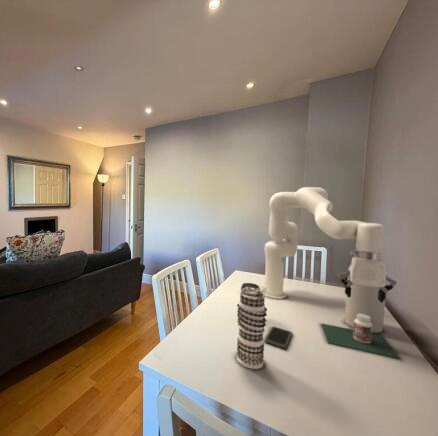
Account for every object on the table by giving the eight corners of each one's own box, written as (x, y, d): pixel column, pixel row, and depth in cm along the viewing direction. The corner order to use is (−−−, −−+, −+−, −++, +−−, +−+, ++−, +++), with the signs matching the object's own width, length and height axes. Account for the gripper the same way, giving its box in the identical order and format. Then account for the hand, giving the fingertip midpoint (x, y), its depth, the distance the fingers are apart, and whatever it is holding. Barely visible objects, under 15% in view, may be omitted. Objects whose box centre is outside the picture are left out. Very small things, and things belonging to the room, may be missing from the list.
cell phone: (264, 342, 94) (264, 340, 94) (272, 327, 105) (272, 325, 105) (285, 349, 90) (285, 347, 90) (292, 333, 101) (292, 331, 101)
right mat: (328, 343, 94) (328, 342, 94) (321, 324, 108) (321, 323, 108) (398, 358, 85) (399, 357, 85) (381, 336, 99) (381, 335, 99)
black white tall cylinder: (262, 373, 78) (266, 297, 76) (232, 363, 83) (235, 291, 81) (266, 357, 85) (269, 288, 83) (238, 349, 90) (240, 283, 88)
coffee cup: (258, 313, 118) (259, 283, 117) (260, 322, 110) (261, 289, 109) (239, 311, 121) (240, 281, 120) (240, 319, 113) (241, 287, 112)
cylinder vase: (375, 322, 110) (379, 268, 108) (388, 336, 99) (393, 276, 97) (341, 316, 115) (344, 264, 114) (349, 329, 104) (353, 272, 102)
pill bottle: (352, 340, 95) (354, 316, 95) (352, 334, 100) (354, 311, 99) (371, 345, 92) (373, 320, 91) (370, 339, 96) (372, 315, 95)
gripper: (342, 254, 94) (338, 297, 95) (403, 260, 86) (398, 307, 88) (337, 250, 100) (334, 291, 102) (394, 255, 93) (389, 299, 94)
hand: (364, 298), depth 95 cm, fingers open, 9 cm apart
